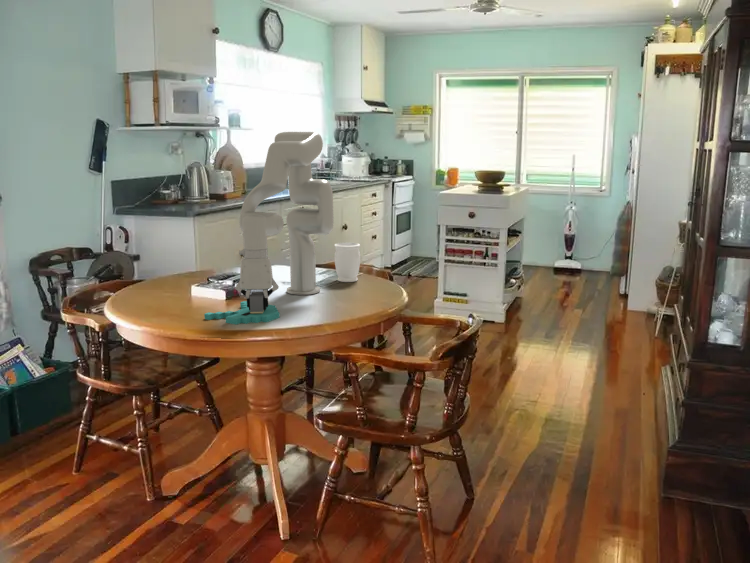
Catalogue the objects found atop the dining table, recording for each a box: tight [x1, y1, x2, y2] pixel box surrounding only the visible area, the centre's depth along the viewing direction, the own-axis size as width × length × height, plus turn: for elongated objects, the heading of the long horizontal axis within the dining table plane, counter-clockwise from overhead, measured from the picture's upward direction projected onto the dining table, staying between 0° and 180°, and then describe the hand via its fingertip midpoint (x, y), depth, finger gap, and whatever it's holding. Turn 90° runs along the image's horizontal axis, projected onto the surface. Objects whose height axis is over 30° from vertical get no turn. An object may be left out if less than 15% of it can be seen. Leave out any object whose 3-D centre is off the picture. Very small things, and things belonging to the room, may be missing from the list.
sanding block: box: [250, 291, 264, 313], centre depth 222 cm, size 7×4×6 cm, turn 3°
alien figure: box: [203, 300, 281, 325], centre depth 224 cm, size 20×2×20 cm
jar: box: [333, 242, 361, 283], centre depth 278 cm, size 11×10×15 cm
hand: (257, 308), depth 222 cm, fingers closed on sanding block, 4 cm apart
